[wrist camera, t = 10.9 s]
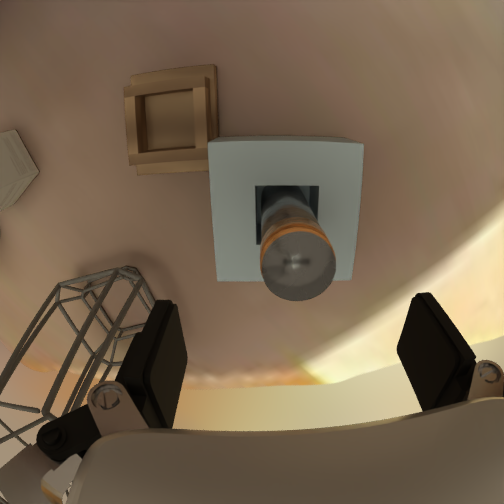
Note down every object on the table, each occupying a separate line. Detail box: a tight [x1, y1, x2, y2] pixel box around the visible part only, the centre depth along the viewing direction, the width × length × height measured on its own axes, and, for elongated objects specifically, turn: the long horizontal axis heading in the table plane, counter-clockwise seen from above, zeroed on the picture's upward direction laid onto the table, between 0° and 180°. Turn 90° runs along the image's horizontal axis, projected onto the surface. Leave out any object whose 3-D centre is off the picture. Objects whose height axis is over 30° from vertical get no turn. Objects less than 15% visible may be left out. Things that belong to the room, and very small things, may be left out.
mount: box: [124, 64, 219, 175], centre depth 25 cm, size 10×8×4 cm
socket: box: [208, 136, 364, 281], centre depth 27 cm, size 12×12×6 cm
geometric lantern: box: [0, 266, 155, 504], centre depth 21 cm, size 16×16×35 cm
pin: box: [260, 185, 336, 301], centre depth 23 cm, size 4×4×14 cm
